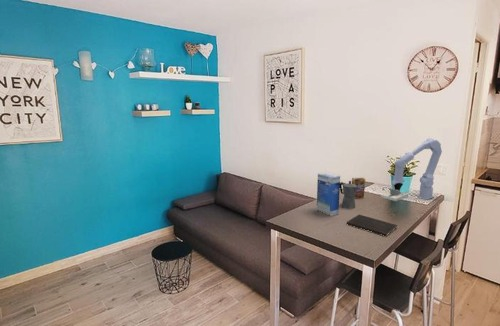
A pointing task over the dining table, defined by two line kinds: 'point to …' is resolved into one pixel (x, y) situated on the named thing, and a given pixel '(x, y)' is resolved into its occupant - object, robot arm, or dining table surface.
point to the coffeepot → (348, 194)
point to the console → (394, 196)
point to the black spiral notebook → (372, 224)
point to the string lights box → (328, 193)
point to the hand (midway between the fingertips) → (397, 192)
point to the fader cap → (394, 192)
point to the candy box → (359, 187)
